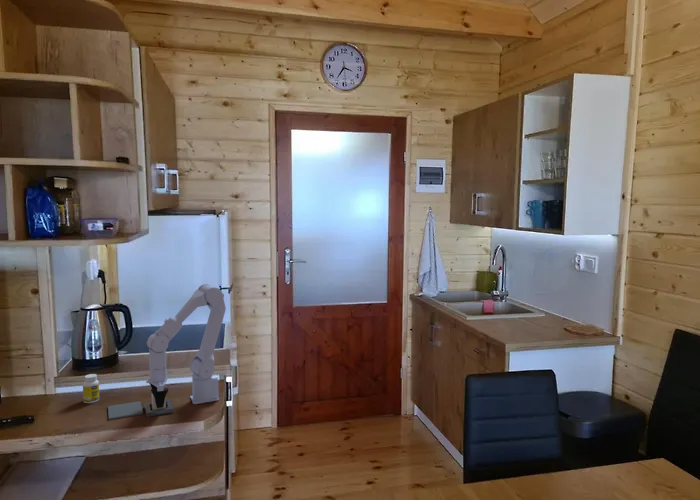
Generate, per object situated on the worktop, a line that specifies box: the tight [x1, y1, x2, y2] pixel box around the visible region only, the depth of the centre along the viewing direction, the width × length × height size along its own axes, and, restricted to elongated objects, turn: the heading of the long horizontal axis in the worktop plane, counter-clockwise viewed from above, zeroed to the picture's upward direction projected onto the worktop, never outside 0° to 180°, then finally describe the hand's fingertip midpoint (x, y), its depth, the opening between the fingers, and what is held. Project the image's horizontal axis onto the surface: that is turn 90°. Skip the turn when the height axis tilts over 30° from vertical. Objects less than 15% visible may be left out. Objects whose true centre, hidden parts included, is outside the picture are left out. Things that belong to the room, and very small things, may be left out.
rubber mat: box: [107, 400, 144, 421], centre depth 179 cm, size 11×11×1 cm
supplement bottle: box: [82, 373, 100, 404], centre depth 186 cm, size 5×5×10 cm
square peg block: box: [150, 391, 167, 410], centre depth 180 cm, size 4×4×7 cm
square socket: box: [144, 398, 175, 418], centre depth 180 cm, size 9×9×2 cm
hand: (158, 403), depth 180 cm, fingers open, 7 cm apart
